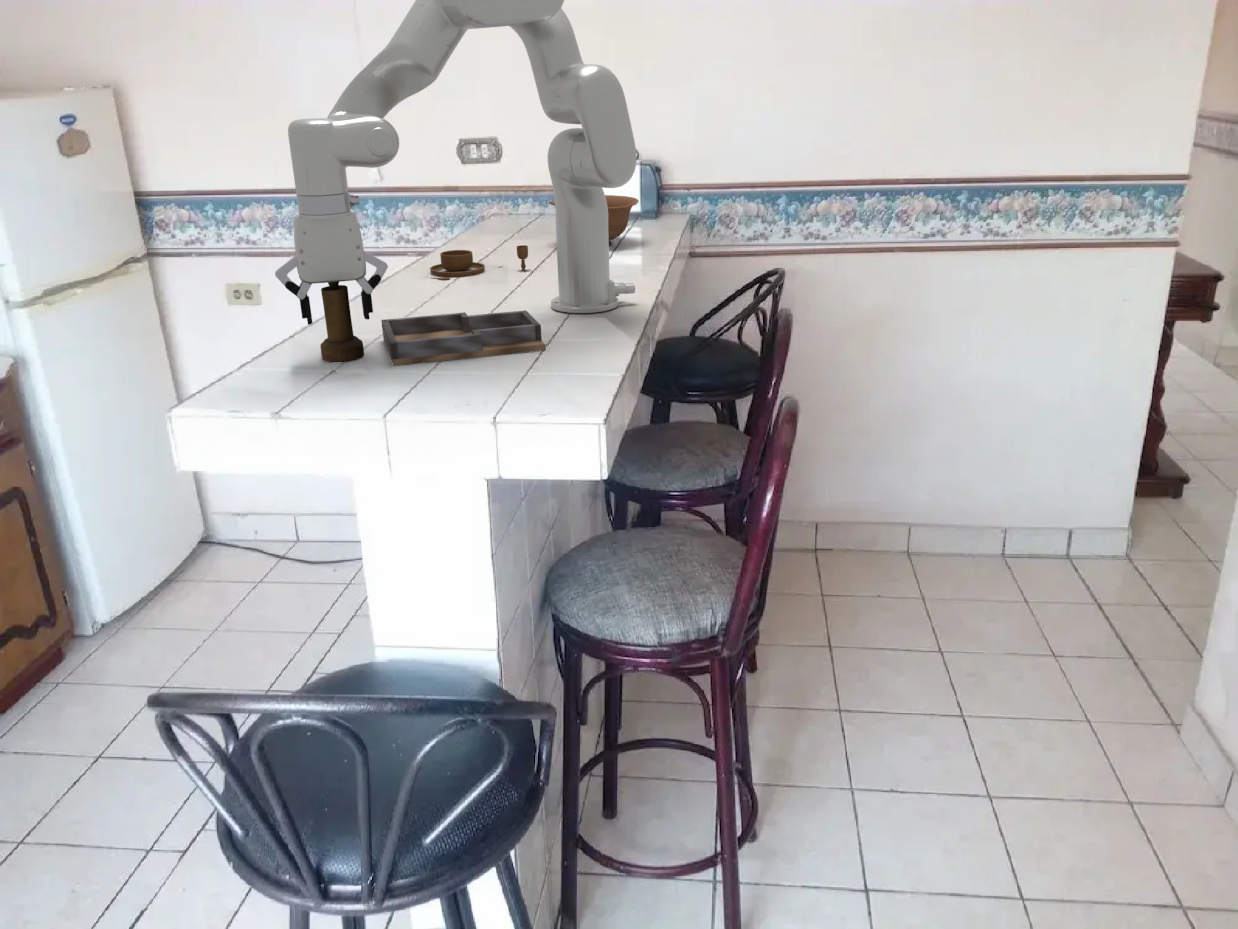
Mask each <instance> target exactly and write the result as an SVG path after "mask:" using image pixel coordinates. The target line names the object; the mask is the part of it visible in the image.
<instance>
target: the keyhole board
mask: <svg viewBox="0 0 1238 929" xmlns="http://www.w3.org/2000/svg"><path fill="white" fill-rule="evenodd" d="M380 320H381V321H380V322H381V328H382V329H381V330H382V337H383V338H382V339H383V342H384V345H385V348H386V351H387V353H388V356H389V358H390V361H391V364H392V366H393V367H394V366H404V365H414V364H424V363H423V362H426V363H434V362H443V361H452V360H453V361H454V360H462V358H465V359H472V358H483V357H484V358H485V357H492V356H502V355H503V354H504V355H511V354H512V353H513V354H520V353H521V352H523V353H530V351H533V352H540V350H543V351H546V343H545V342H544V341H543V340H542V324H540V323H539V322H538V321H537V320H536V319H535V318H534V317H533V316H532V315H531V313H529V312H528V311H527V310H516V311H515V310H514V311H503V312H502V311H501V312H494V313H484V314H483V313H482V314H473V315H472V314H471V315H470V314H469V315H468V313H466V312H454V313H443V314H434V315H433V314H432V315H423V316H411V317H398V318H387V319H380ZM521 354H522V353H521Z"/></svg>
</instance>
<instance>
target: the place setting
mask: <svg viewBox="0 0 1238 929" xmlns="http://www.w3.org/2000/svg"><path fill="white" fill-rule="evenodd" d="M439 254H440V255H439V256H440V263H438V264H434V265H432V266H430V267H429V271H430V273H431V275H432V276H434V277H431V280H434V279H435V280H439V281H449V280H450V279H451V278H464V277H472V276H477V275H480V274H482V273H483V272H484V271H485V268H486V266H485V265H486V264H484V263H480V262H474V260H473V251H472V250H468V249H466V250H465V249H454V250H453V249H451V250H445V251H442V252H440V253H439ZM516 255H517V258H518V259H519V260H520V261H521V264H520V267H521V270H520V271H521V272H526V271H527V270H526V260H527V259H528V257H529V247H528V245H516ZM502 267H504V265H503V266H498V267H497V268H498V269H499V268H502ZM469 269H472V270H469ZM442 270H445V271H442Z"/></svg>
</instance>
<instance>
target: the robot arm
mask: <svg viewBox="0 0 1238 929" xmlns="http://www.w3.org/2000/svg"><path fill="white" fill-rule="evenodd" d="M564 1H565V0H414V2H413V4H412V5H411V7H410V9H409V10H408V12H407V14H406V15H405V16H404V18H403V19H402V22H401V23H400V25H399V26H398V28H397V30H396V31H395V32H394V34H393V35H392V37H391V39H390V40H389V42H388V43H387V45H386V46H385V47H384V48H383V49H382V50H381V51H380V52H379V53H378V54H377V55H375V57H373V59H372V60H370V62H369V63H368V64H367V65H366V66H364V68H363V69H362V70H360V72H358V73H357V74H356V76H355V77H354V78H353V79H352V80H351V81H350V83H348V85H346V87H345V89H344V90H343V91H342V93H340V94H341V95H340V96H339V98H338V99H337V101H336V102H335V104H334V106H333V107H332V109H331V110H330V112H329V114H328V116H327V117H325V118H324V117H323V118H322V117H319V118H315V117H313V118H300V119H296V120H295V119H294V120H292V121H291V122H289V124H288V126H287V127H288V128H287V135H288V136H287V137H288V144H289V150H290V158H291V164H292V165H291V166H292V173H293V178H294V186H295V192H296V193H295V194H296V200H297V201H296V202H297V209H298V214H297V215H294V218H293V244H294V253H295V254H294V256H293V257H292V258H290V259H289V260H287V261H286V262H285V263H284V264H283V265H281V266H280V267H278V269H276V270H275V273H274V275H275V278H276V279H278V280H279V282H281V284H282V285H283V286H284V287H285V288H286V289H287V290H288V291H289V292H290V293H292V294H293V295H294V296H296V298H298V300H299V305H300V311H301V317H302V318H301V319H303V320H304V319H306V320H307V325H308V326H309V325H312V324H313V317H312V310H311V303H310V296H309V295H308V293H309V290H310V289H311V287H312V285H313V284H328V283H329V282H339V283H340V282H350V281H356V283H357V284H358V285H359V286H360V288H361V292H360V296H361V304H362V306H361V307H362V313H363V317H364V318H363V319H364V320H370V313H374V308H373V300H372V293H373V291H374V289H375V288H376V287H377V286H378V285H379V284H380V282H381V281H382V278H384V275H385V273H386V272H387V270H388V268H389V265H388V264H387V262H386V261H383V260H382V259H380V258H378V257H376V256H374V255H373V254H370V253H369V252H367V251H366V250H365V249H364V243H363V237H362V232H361V229H360V224H359V220H358V217H357V214H356V212H355V211H351V209H352V208H353V207H355V206H356V205H358V206H360V198H359V195H354V194H351V193H349V187H348V185H349V184H348V178H347V169H346V168H348V167H353V168H354V167H355V168H356V167H357V168H373V169H374V168H375V169H376V168H379V167H383V166H385V165H387V164H389V163H391V162H392V161H393V160H394V159H395V158H396V156H397V154H398V151H399V148H400V137H399V134H398V132H397V130H396V129H395V127H394V126H393V125H392V124H391V122H389V121H388V120H386V119H385V117H386V116H387V115H388V114H389V113H390V112H391V111H392V110H393V108H395V107H396V106H397V105H398V104H401V102H402V101H404V100H406V99H408V98H409V97H411V96H415V95H416V94H418V93H419V92H422V91H423V90H425V89H427V88H428V87H429V86H430V85H432V84H433V83H434V82H435V81H436V80H437V79H438V77H439V76H440V74H441V73H442V71H443V69H445V66H446V65H447V62H448V61H449V59H450V57H451V56H452V54H453V52H455V50H456V48H457V46H458V45H459V43H460V42H461V40H462V38H463V37H464V36H465V34H466V32H467V31H468V30H473V29H475V30H477V29H486V28H487V29H489V28H499V27H509V28H511V30H513V31H514V32H515V33H516V34H517V35H518V37H519V38H520V39H521V42H522V43H523V46H524V48H525V51H526V53H527V56H528V61H529V62H530V67H531V70H532V74H533V78H534V82H535V86H536V89H537V90H536V91H537V94H538V98H539V101H540V104H541V108H542V110H543V112H544V114H545V116H546V117H547V118H548V119H549V120H551V121H553V122H555V123H561V124H569V125H581V127H573V128H567V129H564V130H562V131H560V132H558V133H557V134H556V135H555V136H554V137H553V139H552V141H551V142H550V144H549V146H548V150H547V168H548V171H549V176H550V179H551V184H552V190H553V196H554V198H553V200H554V201H555V206H554V209H555V210H554V211H555V234H556V236H555V238H556V239H555V240H556V257H557V259H556V260H557V278H558V279H557V280H558V282H557V284H558V296H556V297H554V298H552V299H551V300H550V305H551V306H550V307H551V308H552V309H553V310H554V311H558V312H561V313H569V314H592V313H593V314H594V313H600V312H601V313H602V312H607V311H611V310H613V309H615V308H617V307H619V298H618V297H619V296H620V295H623V294H625V295H628V294H629V295H630V294H631V295H632V294H635V293H636V285H635V283H633V282H630V283H624V282H615V281H613V280H611V278H610V246H609V236H608V207H607V201H606V197H605V195H606V194H605V192H604V189H603V188H606V189H615V188H617V189H618V188H620V187H623V186H624V185H625V184H628V182H629V181H630V180H631V179H632V177H633V176H634V174H635V171H636V168H637V147H636V142H635V138H634V133H633V127H632V123H631V118H630V115H629V114H630V113H629V109H628V104H627V101H626V100H627V99H626V97H625V91H624V90H623V87H622V85H621V82H620V81H619V79H618V77H617V76H616V75H615V73H614V72H613V71H612V70H611V69H610V68H607V67H606V66H603V65H599V64H595V63H594V64H593V63H592V64H590V63H589V64H586V63H585V62H584V61H583V58H582V56H581V52H580V48H579V45H578V43H577V42H578V41H577V38H576V34H575V31H574V28H573V26H572V24H571V22H570V20H569V17H568V16H567V14H566V12H565V11H564V9H562V6H563V5H564ZM367 264H370V265H372V266H374V267H375V272H374V273H373V274H372V275H371V277H369V279H368V280H367V278H366V277H365V276H366V274H367ZM295 268H296V269H297V274H298V278H299V280H300V281H301V282H300V284H299V285H298V284H297V283H296V282H294V281H293V280H292V279H291V278H290V277H289V276H288V274H289V273H290V272H292V271H293V270H294V269H295Z"/></svg>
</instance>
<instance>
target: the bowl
mask: <svg viewBox="0 0 1238 929" xmlns="http://www.w3.org/2000/svg"><path fill="white" fill-rule="evenodd" d="M605 197H606V201H607V207H608V236H609V247H611V246H612V245H614V243H613V242H612V240H615V239H616V238H618V237H619V236H621V235H623V234H624V232H625V231H626V229H627V227H628V224H629V218H630V213H631V210H632V208H633V207H634V206H636V205H637V204H638V203H639V199H638V198H636V197H632V196H626V195H614V194H613V195H611V194H610V195H608V194H605ZM548 204H550V205H551V206H554V207H555V200H549V201H548Z"/></svg>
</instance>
